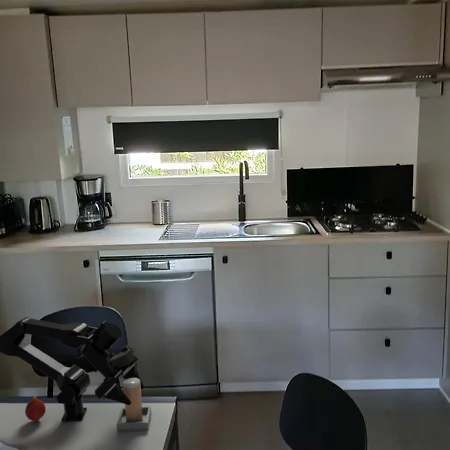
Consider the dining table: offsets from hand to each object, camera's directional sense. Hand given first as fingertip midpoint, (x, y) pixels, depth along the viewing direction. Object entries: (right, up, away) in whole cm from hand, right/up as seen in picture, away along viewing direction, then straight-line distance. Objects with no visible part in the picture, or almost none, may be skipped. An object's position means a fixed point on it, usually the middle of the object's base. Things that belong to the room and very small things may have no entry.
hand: (137, 396), depth 151 cm
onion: (-32, -9, +5) cm, 33 cm away
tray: (-1, -9, +2) cm, 9 cm away
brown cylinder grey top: (-1, -8, +2) cm, 8 cm away
